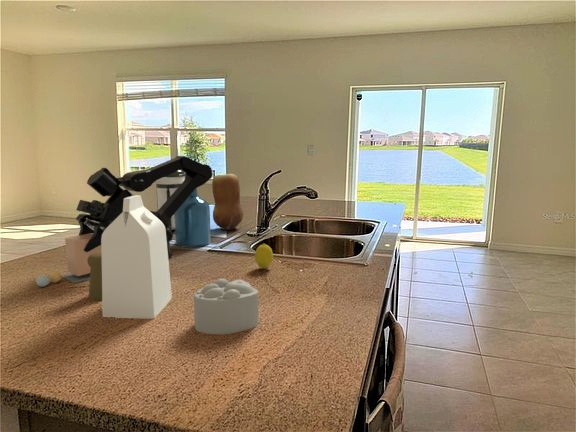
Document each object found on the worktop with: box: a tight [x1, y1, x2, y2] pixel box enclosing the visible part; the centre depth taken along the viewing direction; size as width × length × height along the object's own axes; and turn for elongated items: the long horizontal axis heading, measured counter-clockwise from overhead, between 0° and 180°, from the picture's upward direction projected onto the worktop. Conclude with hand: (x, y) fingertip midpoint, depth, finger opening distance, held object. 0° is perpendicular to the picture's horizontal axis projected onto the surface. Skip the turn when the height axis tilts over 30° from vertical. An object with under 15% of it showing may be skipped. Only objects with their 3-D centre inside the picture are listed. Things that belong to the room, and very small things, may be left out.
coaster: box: [61, 272, 90, 284], centre depth 116 cm, size 11×9×1 cm
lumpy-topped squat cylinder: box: [193, 278, 260, 335], centre depth 85 cm, size 10×13×9 cm
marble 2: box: [48, 271, 62, 284], centre depth 110 cm, size 3×3×3 cm
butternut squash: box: [212, 173, 245, 231], centre depth 178 cm, size 14×13×25 cm
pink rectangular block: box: [64, 233, 101, 276], centre depth 115 cm, size 8×6×10 cm
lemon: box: [254, 243, 274, 270], centre depth 122 cm, size 6×6×8 cm
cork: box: [87, 252, 102, 301], centre depth 100 cm, size 6×6×11 cm
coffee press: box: [154, 170, 185, 234], centre depth 177 cm, size 17×16×30 cm
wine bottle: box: [174, 173, 211, 248], centre depth 151 cm, size 14×13×30 cm
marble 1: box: [35, 274, 51, 288], centre depth 107 cm, size 3×3×3 cm
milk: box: [101, 194, 173, 320], centre depth 91 cm, size 12×12×26 cm
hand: (80, 249), depth 114 cm, fingers closed on pink rectangular block, 6 cm apart
